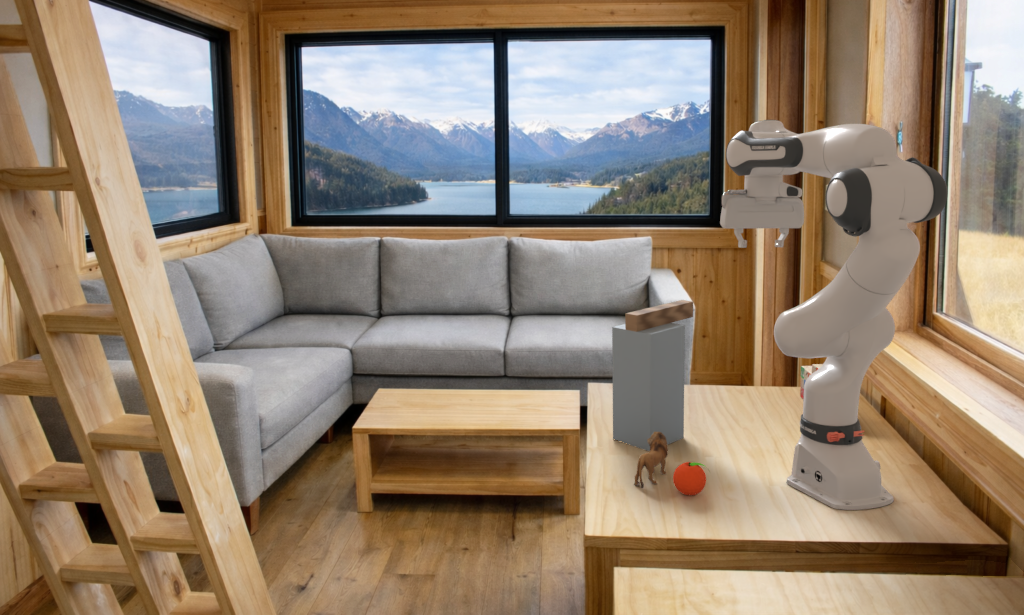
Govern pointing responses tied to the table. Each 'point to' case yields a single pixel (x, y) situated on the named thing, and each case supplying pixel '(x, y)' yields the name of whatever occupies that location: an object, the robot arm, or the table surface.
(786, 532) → the table surface
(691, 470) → the clementine
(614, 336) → the stand
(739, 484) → the table surface
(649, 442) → the lion figurine
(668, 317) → the bar
